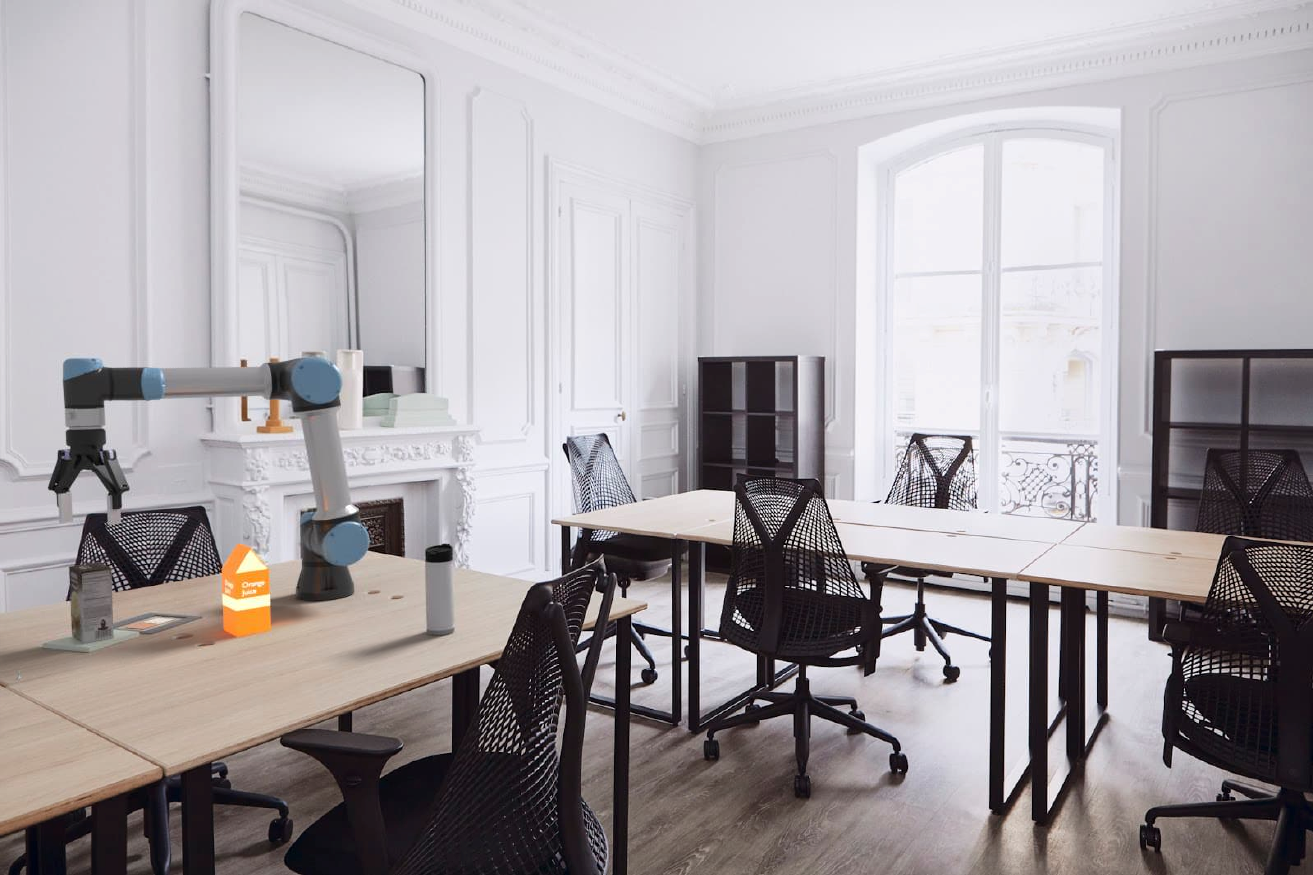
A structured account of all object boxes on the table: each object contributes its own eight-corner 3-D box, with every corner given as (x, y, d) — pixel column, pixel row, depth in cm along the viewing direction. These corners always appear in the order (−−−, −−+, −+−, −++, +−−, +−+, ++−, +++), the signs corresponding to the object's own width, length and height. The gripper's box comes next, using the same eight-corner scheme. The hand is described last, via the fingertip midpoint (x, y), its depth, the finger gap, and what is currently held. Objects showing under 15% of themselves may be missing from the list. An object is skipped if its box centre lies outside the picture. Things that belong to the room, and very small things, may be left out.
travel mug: (460, 629, 209) (458, 544, 208) (445, 636, 203) (443, 549, 202) (437, 627, 211) (435, 542, 210) (421, 634, 205) (419, 547, 204)
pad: (139, 636, 205) (139, 631, 205) (89, 652, 193) (89, 647, 193) (94, 632, 209) (94, 628, 209) (42, 647, 196) (42, 643, 196)
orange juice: (257, 623, 216) (254, 541, 215) (271, 630, 209) (268, 545, 208) (222, 630, 210) (219, 545, 209) (236, 637, 204) (233, 550, 203)
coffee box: (70, 636, 202) (67, 565, 201) (102, 630, 206) (99, 561, 205) (82, 644, 195) (79, 571, 194) (115, 638, 200) (112, 566, 199)
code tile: (202, 617, 221) (202, 616, 221) (151, 634, 207) (151, 633, 207) (149, 613, 226) (149, 612, 226) (96, 629, 211) (96, 628, 211)
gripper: (26, 428, 199) (30, 523, 200) (116, 429, 192) (120, 527, 193) (56, 427, 206) (61, 518, 207) (145, 427, 199) (149, 522, 200)
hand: (90, 523), depth 200 cm, fingers open, 13 cm apart
